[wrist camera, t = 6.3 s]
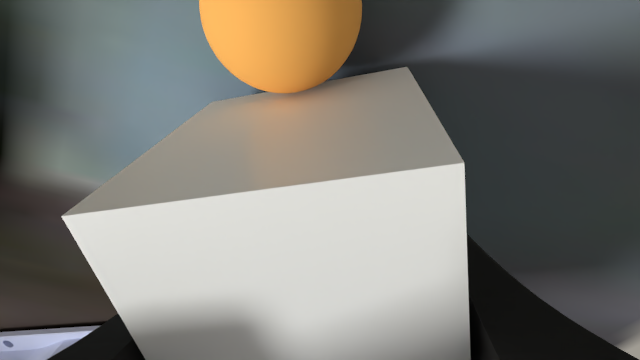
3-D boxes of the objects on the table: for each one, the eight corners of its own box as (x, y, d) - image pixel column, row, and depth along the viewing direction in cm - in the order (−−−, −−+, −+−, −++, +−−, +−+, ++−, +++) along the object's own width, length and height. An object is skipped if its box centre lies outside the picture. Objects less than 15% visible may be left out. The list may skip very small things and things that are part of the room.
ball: (250, 85, 12) (205, 124, 9) (212, -53, 11) (138, -73, 7) (370, 64, 12) (374, 96, 8) (350, -88, 10) (344, -130, 6)
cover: (281, 312, 16) (232, 508, 10) (211, 102, 12) (61, 216, 6) (429, 301, 14) (475, 513, 9) (407, 66, 11) (464, 162, 5)
